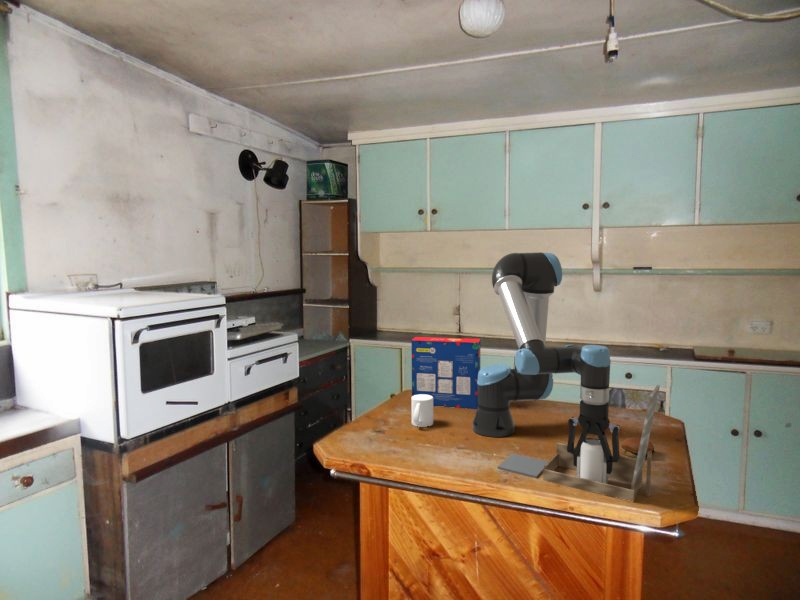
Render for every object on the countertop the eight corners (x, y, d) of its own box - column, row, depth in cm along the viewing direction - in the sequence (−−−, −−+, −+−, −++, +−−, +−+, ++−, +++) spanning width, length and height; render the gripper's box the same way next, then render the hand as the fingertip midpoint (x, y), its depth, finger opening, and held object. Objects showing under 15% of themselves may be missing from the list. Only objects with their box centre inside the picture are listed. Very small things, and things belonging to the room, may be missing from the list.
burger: (614, 452, 169) (615, 438, 168) (631, 446, 174) (631, 433, 173) (644, 463, 160) (644, 448, 160) (660, 456, 166) (661, 442, 165)
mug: (435, 395, 199) (426, 404, 188) (435, 421, 200) (426, 431, 189) (415, 393, 202) (405, 401, 191) (415, 419, 203) (405, 429, 192)
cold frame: (543, 479, 149) (544, 381, 146) (556, 464, 159) (558, 372, 156) (647, 505, 134) (652, 395, 131) (655, 487, 144) (659, 385, 141)
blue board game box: (480, 403, 222) (480, 339, 219) (478, 409, 215) (478, 342, 212) (416, 399, 229) (415, 337, 226) (411, 405, 221) (411, 340, 219)
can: (606, 488, 144) (607, 446, 142) (581, 486, 145) (582, 444, 144) (602, 478, 150) (603, 437, 149) (578, 476, 151) (579, 436, 150)
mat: (497, 468, 157) (497, 466, 157) (513, 455, 167) (513, 453, 167) (536, 478, 150) (536, 476, 150) (550, 463, 160) (550, 461, 160)
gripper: (555, 398, 148) (553, 477, 150) (628, 410, 137) (625, 494, 139) (563, 392, 154) (561, 468, 156) (634, 403, 143) (631, 484, 145)
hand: (592, 480), depth 147 cm, fingers closed on can, 6 cm apart
